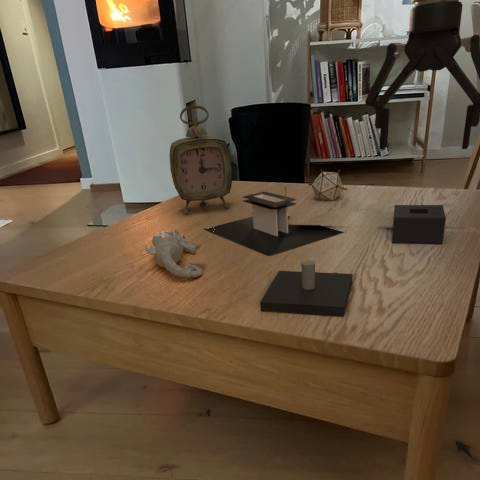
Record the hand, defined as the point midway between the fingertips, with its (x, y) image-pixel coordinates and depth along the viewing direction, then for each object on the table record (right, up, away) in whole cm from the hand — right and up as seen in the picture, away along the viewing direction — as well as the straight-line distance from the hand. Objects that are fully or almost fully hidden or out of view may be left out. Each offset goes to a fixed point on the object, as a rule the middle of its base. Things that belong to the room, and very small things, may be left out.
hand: (422, 148), depth 83 cm
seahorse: (-44, -19, +7) cm, 49 cm away
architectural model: (-25, -11, +21) cm, 35 cm away
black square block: (+3, -14, +10) cm, 17 cm away
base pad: (-21, -26, -10) cm, 35 cm away
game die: (-10, 0, +38) cm, 39 cm away
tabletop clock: (-41, -1, +42) cm, 59 cm away
